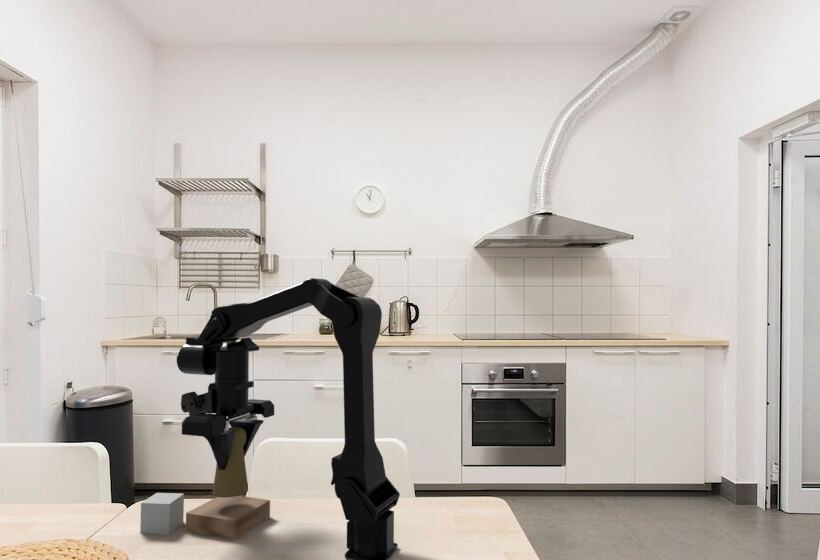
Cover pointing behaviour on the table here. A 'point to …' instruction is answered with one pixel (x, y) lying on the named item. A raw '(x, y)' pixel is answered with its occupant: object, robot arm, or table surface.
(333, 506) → the table surface
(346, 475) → the robot arm
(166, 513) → the slate cube
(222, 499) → the walnut block
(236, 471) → the olive game pawn
